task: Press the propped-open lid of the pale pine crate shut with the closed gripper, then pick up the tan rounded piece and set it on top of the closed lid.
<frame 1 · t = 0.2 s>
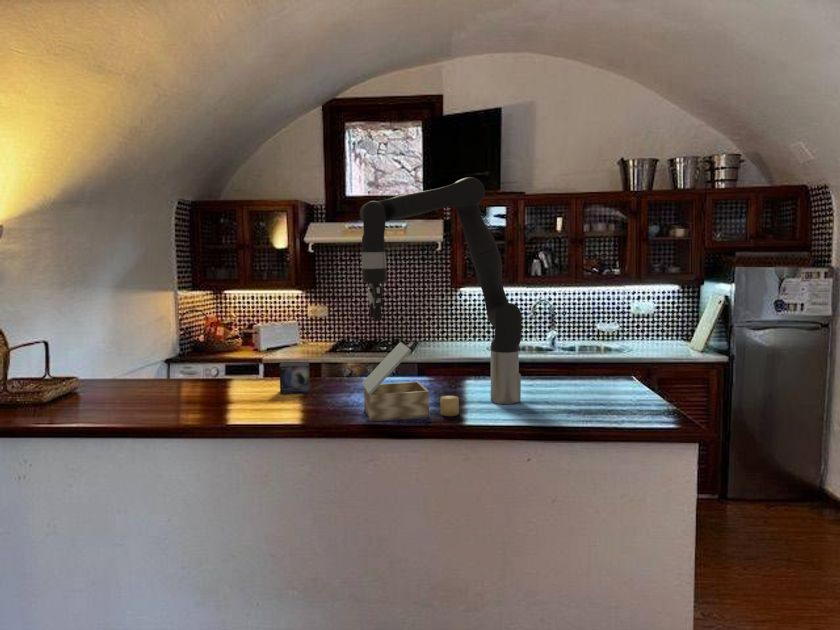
hand: (375, 319, 185), 29 cm above the countertop, fingers open, 8 cm apart
crate: (396, 413, 186), on the countertop
small box: (295, 392, 215), on the countertop
lid: (385, 367, 184), point 15 cm above the countertop, hinge at 45.0°
tan rounded piece: (449, 413, 185), on the countertop
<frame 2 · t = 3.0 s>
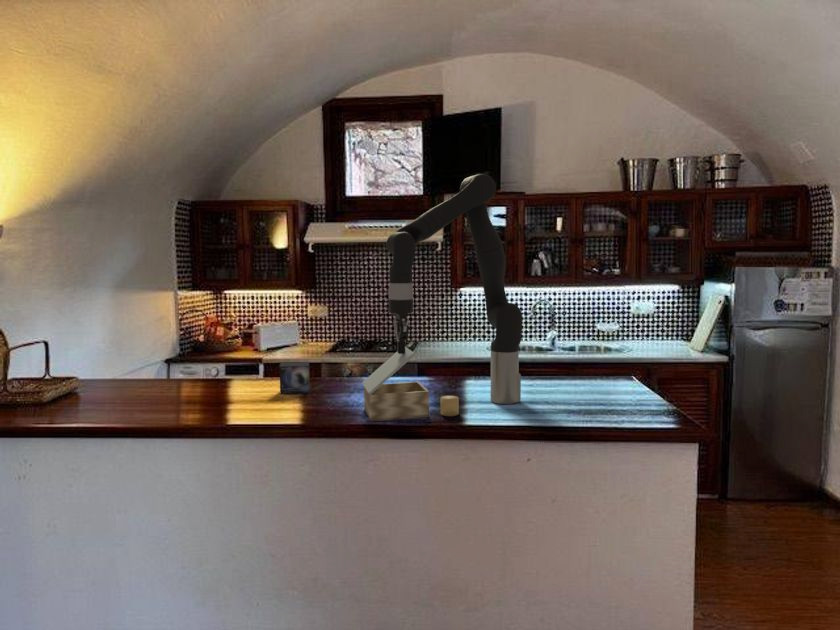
hand: (401, 353, 184), 19 cm above the countertop, fingers closed
lid: (387, 369, 184), point 14 cm above the countertop, hinge at 39.6°, touching gripper
everything else where it was.
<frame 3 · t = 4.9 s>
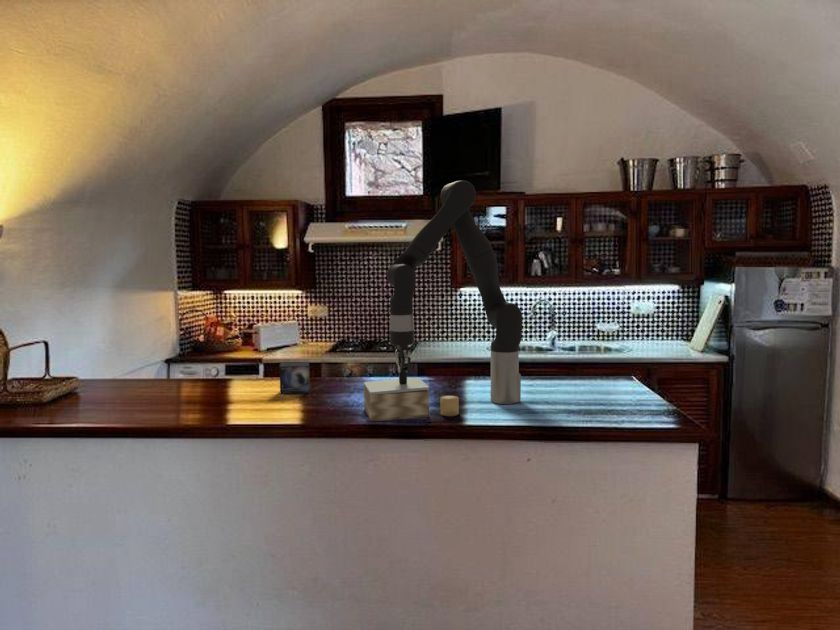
hand: (403, 383, 185), 9 cm above the countertop, fingers closed
lid: (395, 385, 185), point 9 cm above the countertop, hinge at 1.5°, touching gripper
everything else where it was.
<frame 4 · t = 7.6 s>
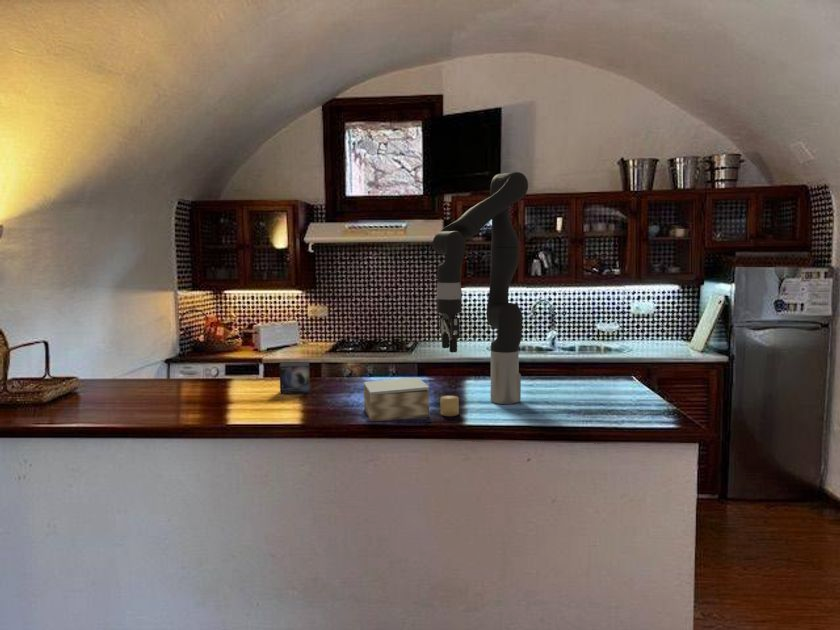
hand: (449, 350, 182), 20 cm above the countertop, fingers open, 8 cm apart
lid: (395, 385, 185), point 9 cm above the countertop, hinge at 1.5°
everything else where it was.
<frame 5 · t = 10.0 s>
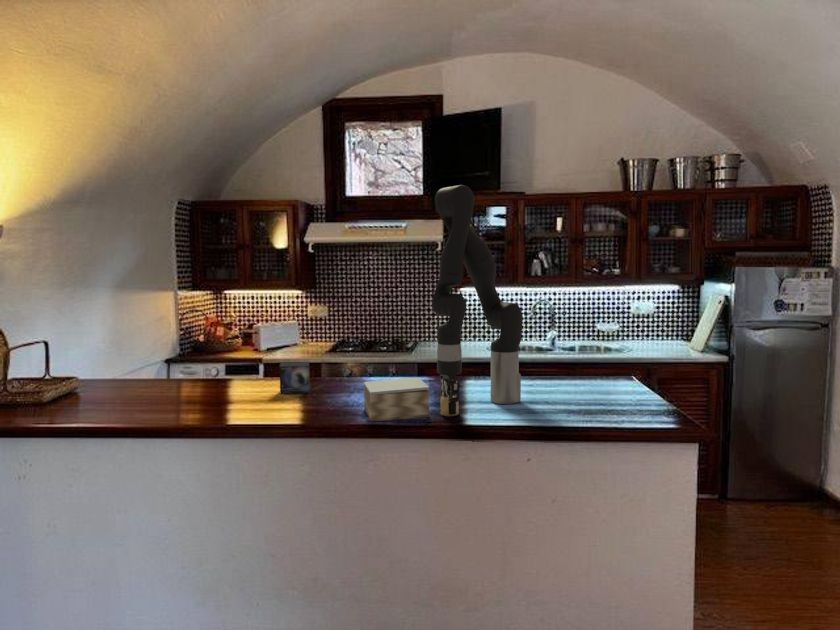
hand: (449, 411, 185), 1 cm above the countertop, fingers closed on tan rounded piece, 5 cm apart
tan rounded piece: (449, 413, 185), on the countertop, touching gripper
everything else where it was.
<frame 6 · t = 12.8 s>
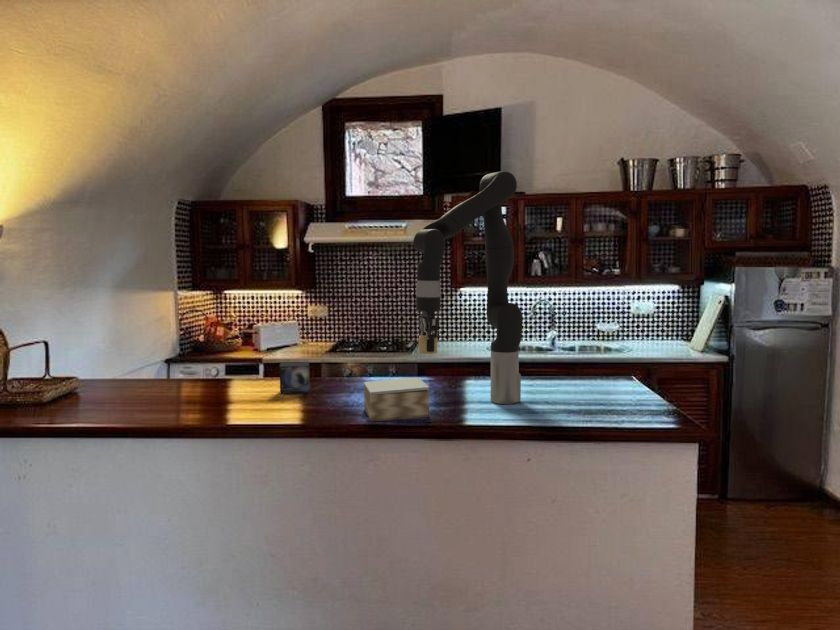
hand: (427, 349, 183), 20 cm above the countertop, fingers closed on tan rounded piece, 5 cm apart
tan rounded piece: (427, 352, 183), point 19 cm above the countertop, touching gripper
everything else where it was.
when the fingers open (11 cm above the countertop, at t = 15.5 s): tan rounded piece drops 1 cm, resting on lid.
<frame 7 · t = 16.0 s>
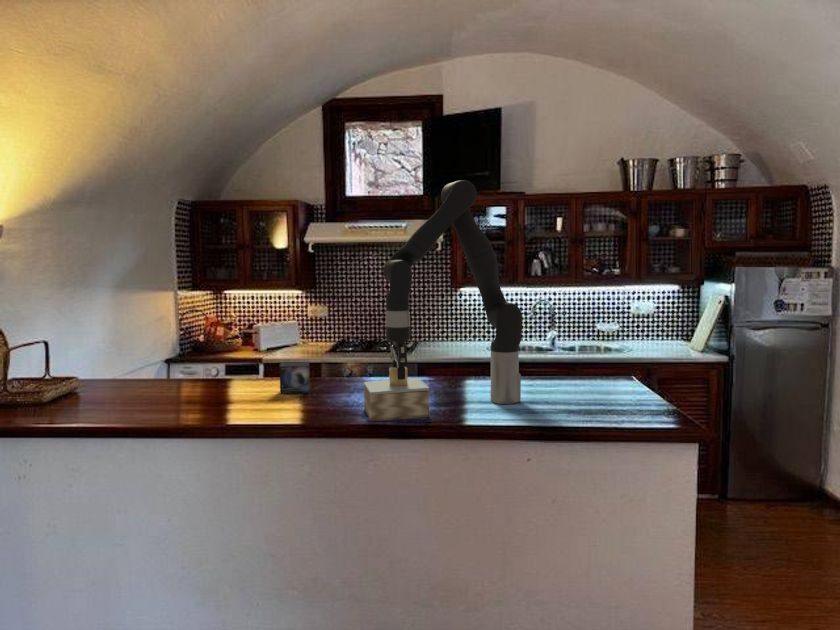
hand: (398, 376, 185), 12 cm above the countertop, fingers open, 8 cm apart
lid: (395, 386, 185), point 9 cm above the countertop, hinge at 0.9°, touching tan rounded piece
tan rounded piece: (398, 384, 185), point 9 cm above the countertop, touching lid
everything else where it was.
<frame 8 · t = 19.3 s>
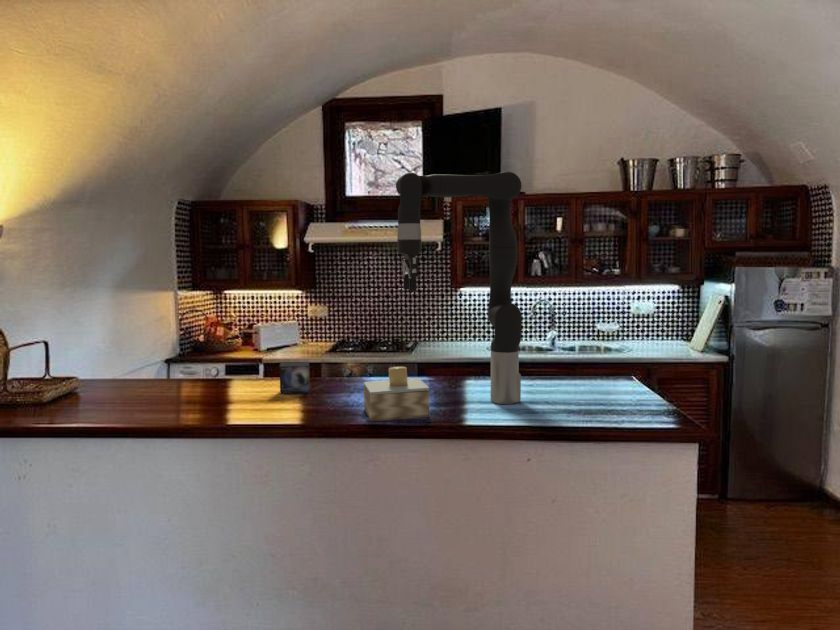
hand: (409, 290, 188), 38 cm above the countertop, fingers open, 8 cm apart
nothing on the countertop moved.
at the end: lid at +1° (first picture: +45°); tan rounded piece inside the target area on the crate (1.0 cm from its centre), point 9.2 cm above the crate's base; tan rounded piece tilted 3° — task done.
